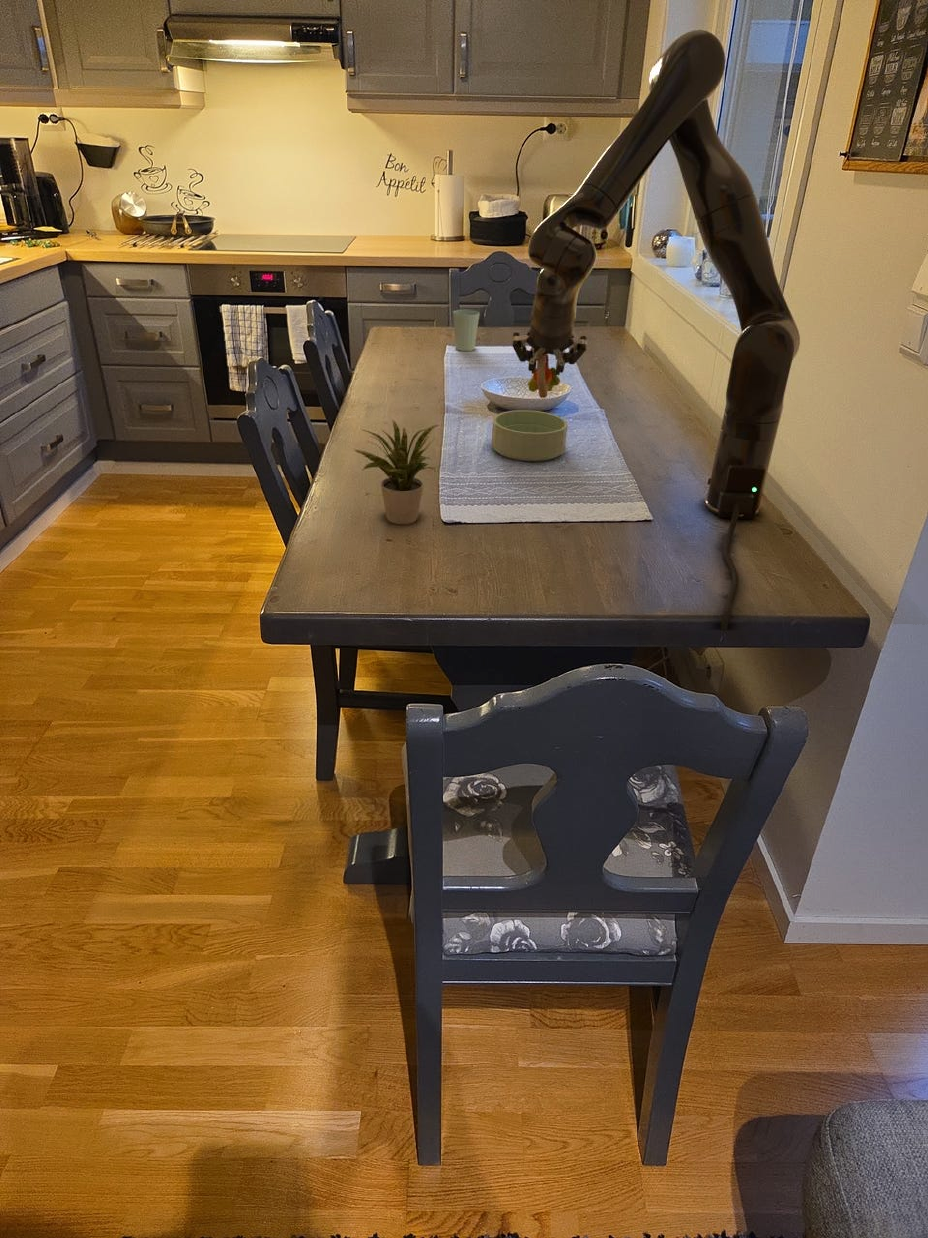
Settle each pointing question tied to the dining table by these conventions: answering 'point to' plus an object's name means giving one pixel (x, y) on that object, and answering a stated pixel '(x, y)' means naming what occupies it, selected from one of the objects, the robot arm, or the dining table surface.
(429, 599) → the dining table surface
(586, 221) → the robot arm
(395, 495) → the house plant
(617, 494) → the dining table surface
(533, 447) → the bowl
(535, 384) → the bird rattle
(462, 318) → the cup
